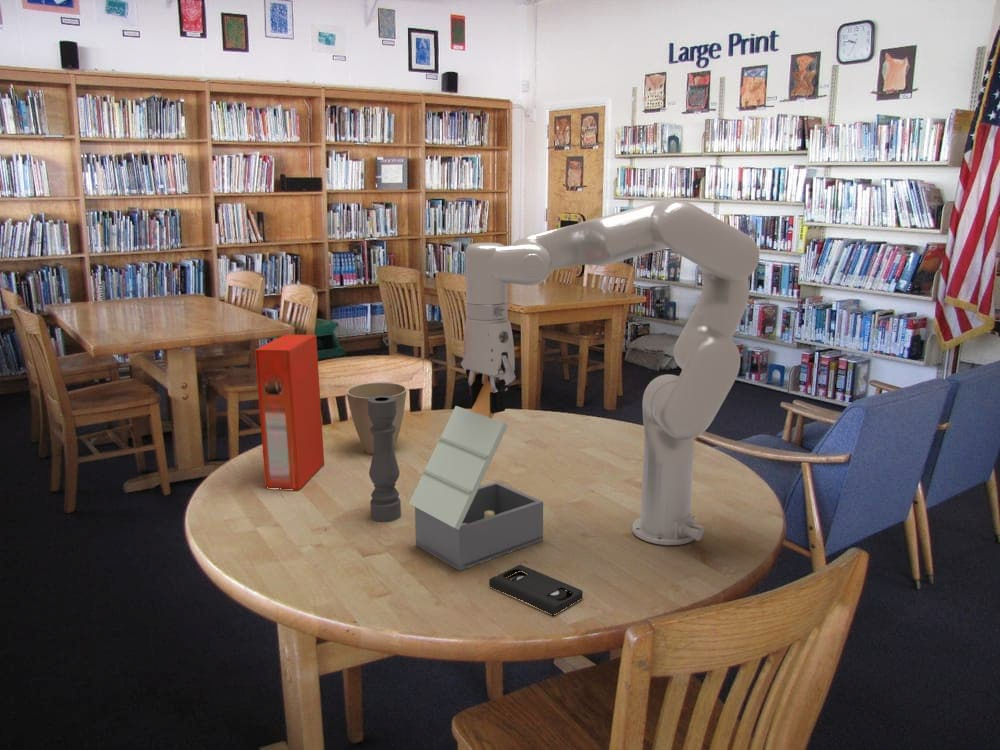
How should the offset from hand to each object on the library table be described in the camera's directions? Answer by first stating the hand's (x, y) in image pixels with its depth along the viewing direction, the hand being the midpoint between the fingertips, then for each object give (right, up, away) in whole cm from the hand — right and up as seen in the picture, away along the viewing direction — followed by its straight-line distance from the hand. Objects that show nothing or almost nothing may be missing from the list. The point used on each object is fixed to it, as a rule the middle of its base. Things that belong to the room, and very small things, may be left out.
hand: (487, 407), depth 158 cm
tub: (-2, -26, +5) cm, 27 cm away
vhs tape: (+8, -31, -14) cm, 35 cm away
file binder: (-45, -18, +40) cm, 63 cm away
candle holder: (-21, -23, +18) cm, 36 cm away
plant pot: (-29, -13, +58) cm, 66 cm away
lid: (-4, -8, -1) cm, 9 cm away
